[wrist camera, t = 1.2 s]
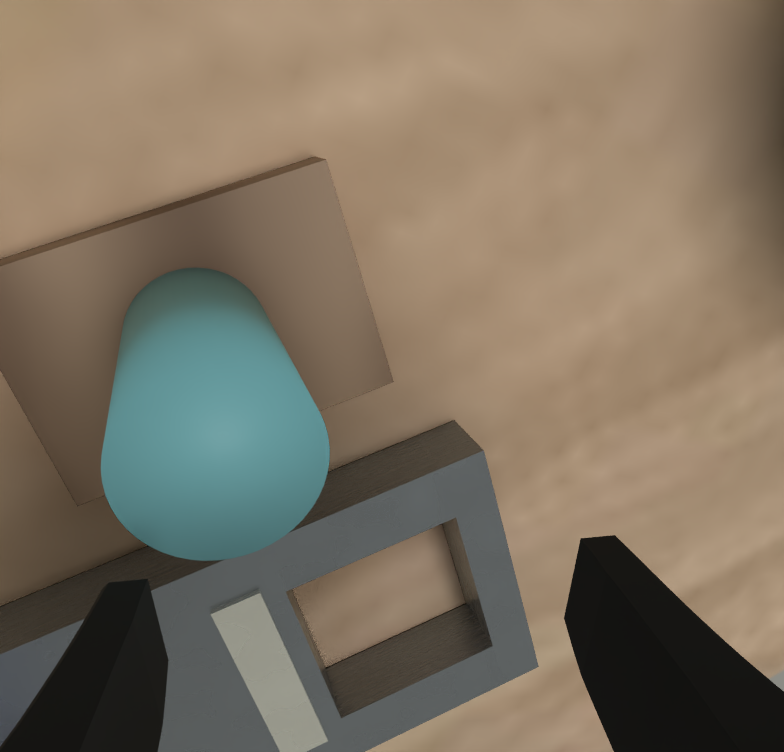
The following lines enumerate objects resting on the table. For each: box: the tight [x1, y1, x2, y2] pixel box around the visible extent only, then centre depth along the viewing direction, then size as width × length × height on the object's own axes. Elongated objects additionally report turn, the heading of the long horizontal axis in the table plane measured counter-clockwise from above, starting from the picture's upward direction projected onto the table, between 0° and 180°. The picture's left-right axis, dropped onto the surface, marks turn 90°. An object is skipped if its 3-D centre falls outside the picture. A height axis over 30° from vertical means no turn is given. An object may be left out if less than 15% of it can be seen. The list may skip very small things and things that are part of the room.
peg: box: [101, 268, 330, 561], centre depth 16 cm, size 4×4×8 cm
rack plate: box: [0, 420, 539, 752], centre depth 24 cm, size 17×10×3 cm, turn 107°
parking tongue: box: [0, 157, 393, 506], centre depth 20 cm, size 10×7×2 cm
